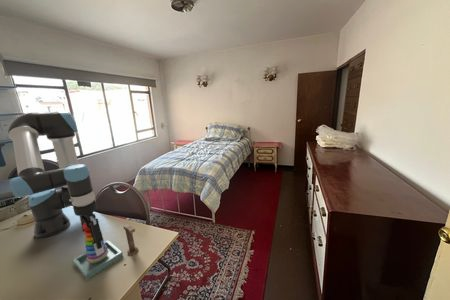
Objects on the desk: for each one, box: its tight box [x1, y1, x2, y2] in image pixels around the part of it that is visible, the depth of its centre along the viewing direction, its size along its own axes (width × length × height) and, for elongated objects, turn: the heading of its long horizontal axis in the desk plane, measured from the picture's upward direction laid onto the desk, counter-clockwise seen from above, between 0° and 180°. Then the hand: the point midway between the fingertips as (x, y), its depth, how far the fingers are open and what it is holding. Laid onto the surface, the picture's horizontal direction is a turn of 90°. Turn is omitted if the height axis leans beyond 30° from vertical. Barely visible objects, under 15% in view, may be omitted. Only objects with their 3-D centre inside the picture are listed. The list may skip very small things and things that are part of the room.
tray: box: [72, 239, 124, 281], centre depth 83 cm, size 14×14×2 cm
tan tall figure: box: [123, 223, 139, 256], centre depth 85 cm, size 6×4×14 cm
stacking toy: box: [82, 222, 108, 263], centre depth 80 cm, size 8×8×19 cm
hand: (96, 249), depth 82 cm, fingers closed on stacking toy, 7 cm apart
